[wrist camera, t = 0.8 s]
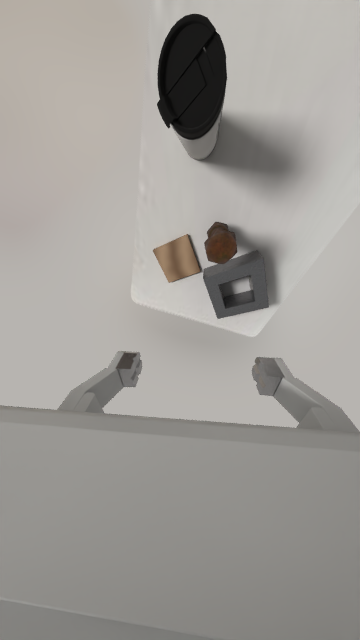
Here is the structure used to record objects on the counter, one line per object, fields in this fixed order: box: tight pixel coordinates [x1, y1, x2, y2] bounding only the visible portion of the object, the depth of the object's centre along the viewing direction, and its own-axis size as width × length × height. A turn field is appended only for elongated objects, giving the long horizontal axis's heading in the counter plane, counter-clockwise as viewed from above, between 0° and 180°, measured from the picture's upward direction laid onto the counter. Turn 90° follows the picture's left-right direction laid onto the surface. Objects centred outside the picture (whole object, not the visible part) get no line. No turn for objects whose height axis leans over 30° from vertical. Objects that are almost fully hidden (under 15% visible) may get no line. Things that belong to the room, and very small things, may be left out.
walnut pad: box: [153, 234, 200, 282], centre depth 43 cm, size 10×10×1 cm
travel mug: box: [157, 14, 227, 160], centre depth 21 cm, size 6×7×20 cm
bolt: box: [204, 222, 237, 264], centre depth 32 cm, size 6×5×15 cm
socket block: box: [203, 250, 269, 319], centre depth 43 cm, size 14×14×6 cm
